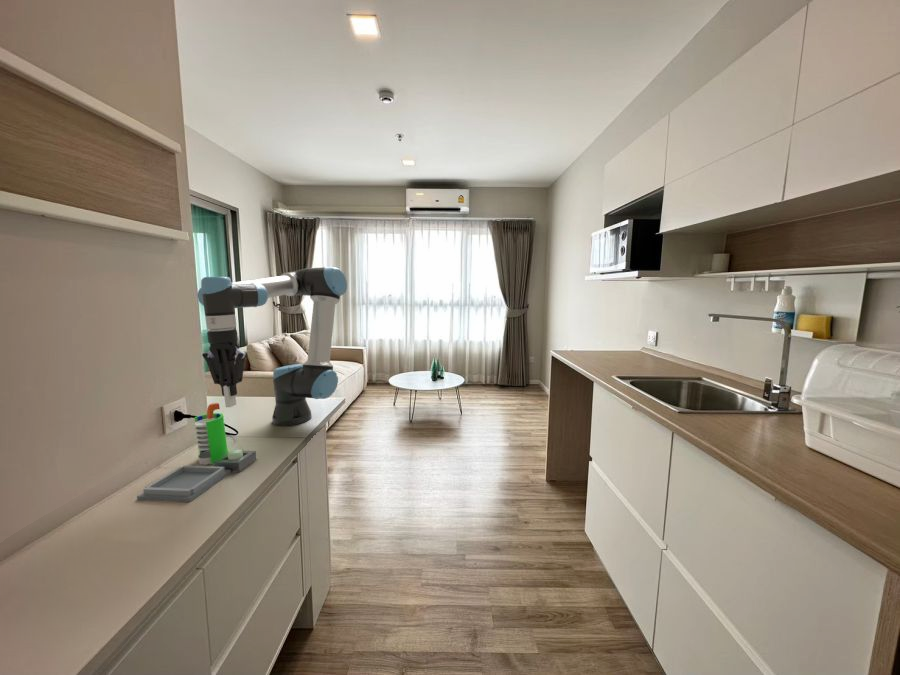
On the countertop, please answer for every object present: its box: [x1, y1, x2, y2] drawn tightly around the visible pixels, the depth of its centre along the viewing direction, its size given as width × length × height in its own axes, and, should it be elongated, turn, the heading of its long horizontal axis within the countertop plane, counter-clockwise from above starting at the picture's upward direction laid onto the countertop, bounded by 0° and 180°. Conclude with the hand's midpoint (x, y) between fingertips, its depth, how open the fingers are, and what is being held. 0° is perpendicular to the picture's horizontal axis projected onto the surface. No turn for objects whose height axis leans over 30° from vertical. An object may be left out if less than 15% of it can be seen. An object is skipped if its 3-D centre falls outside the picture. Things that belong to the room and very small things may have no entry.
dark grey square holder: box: [213, 450, 257, 473], centre depth 112 cm, size 8×8×3 cm
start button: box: [228, 448, 244, 460], centre depth 112 cm, size 4×4×4 cm
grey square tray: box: [136, 465, 232, 503], centre depth 101 cm, size 15×15×2 cm
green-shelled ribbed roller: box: [194, 402, 229, 466], centre depth 116 cm, size 9×8×18 cm
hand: (231, 405), depth 110 cm, fingers closed
